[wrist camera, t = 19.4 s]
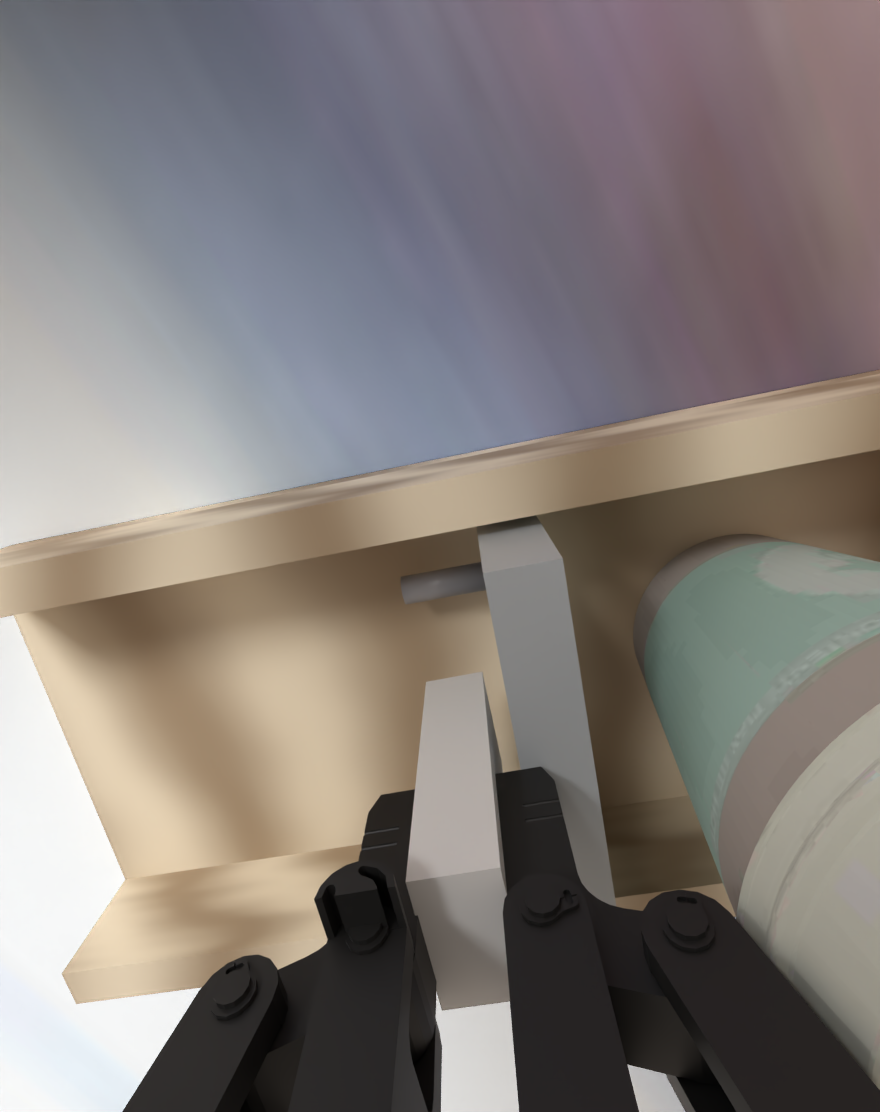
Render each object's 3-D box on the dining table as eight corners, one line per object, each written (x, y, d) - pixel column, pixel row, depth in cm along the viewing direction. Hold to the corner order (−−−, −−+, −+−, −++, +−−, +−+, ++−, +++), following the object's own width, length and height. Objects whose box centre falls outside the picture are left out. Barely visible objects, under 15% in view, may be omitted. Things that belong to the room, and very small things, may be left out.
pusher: (462, 823, 20) (464, 1003, 14) (393, 525, 17) (361, 595, 11) (577, 806, 19) (628, 983, 14) (526, 499, 17) (562, 558, 11)
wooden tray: (150, 883, 22) (42, 1057, 16) (11, 544, 19) (-188, 615, 13) (1155, 734, 19) (1452, 881, 14) (1214, 302, 16) (1648, 252, 10)
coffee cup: (935, 636, 18) (1863, 1107, 6) (699, 799, 19) (1059, 1410, 8) (767, 419, 16) (1559, 484, 4) (527, 617, 18) (652, 1032, 6)
